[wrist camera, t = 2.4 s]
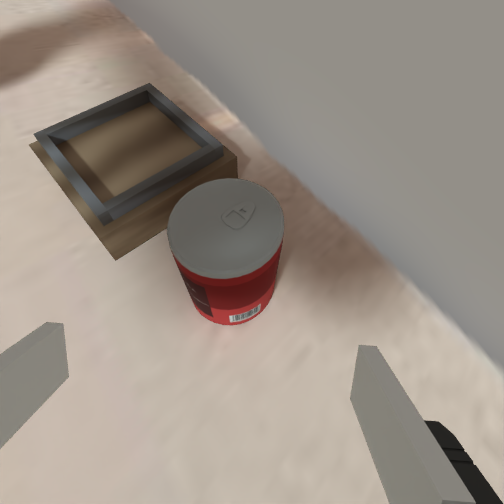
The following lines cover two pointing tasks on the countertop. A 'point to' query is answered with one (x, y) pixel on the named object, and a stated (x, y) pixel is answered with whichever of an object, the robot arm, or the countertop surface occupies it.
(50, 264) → the countertop surface
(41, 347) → the robot arm
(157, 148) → the square wooden tray
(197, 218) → the canned food
